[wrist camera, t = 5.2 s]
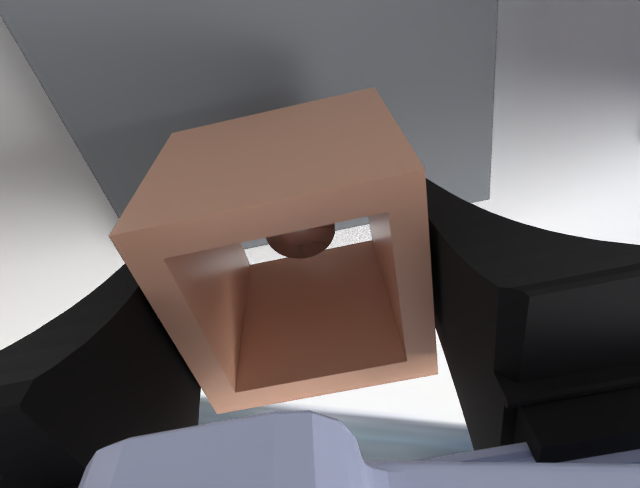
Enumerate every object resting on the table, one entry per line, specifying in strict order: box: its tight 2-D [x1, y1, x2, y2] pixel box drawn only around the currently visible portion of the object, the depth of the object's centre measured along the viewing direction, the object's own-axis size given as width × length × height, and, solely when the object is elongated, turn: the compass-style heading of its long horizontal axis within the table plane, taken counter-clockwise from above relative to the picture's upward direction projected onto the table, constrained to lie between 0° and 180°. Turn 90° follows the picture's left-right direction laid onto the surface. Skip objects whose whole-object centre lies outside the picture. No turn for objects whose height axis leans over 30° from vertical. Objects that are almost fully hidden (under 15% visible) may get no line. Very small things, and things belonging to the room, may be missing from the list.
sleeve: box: [109, 87, 438, 414], centre depth 11 cm, size 6×6×5 cm
